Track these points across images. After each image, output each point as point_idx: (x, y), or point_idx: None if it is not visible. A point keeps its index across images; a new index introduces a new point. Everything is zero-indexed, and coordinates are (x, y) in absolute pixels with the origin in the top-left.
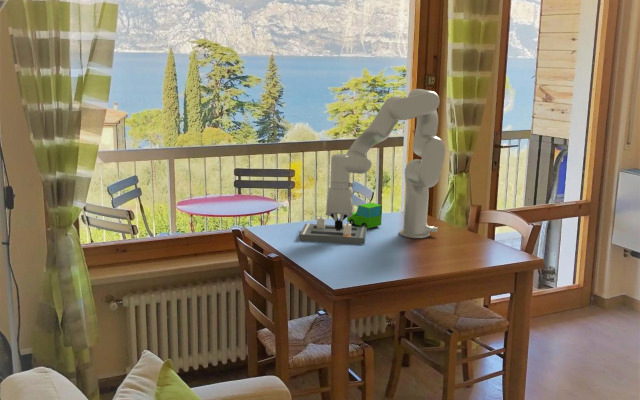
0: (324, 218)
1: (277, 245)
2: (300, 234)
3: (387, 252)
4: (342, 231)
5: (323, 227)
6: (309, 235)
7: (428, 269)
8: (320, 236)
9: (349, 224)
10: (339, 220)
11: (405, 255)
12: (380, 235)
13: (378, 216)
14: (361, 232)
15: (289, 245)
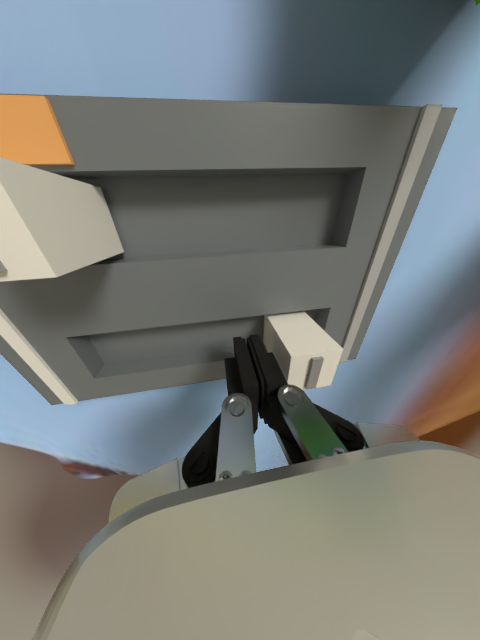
0: (36, 248)
1: (40, 440)
2: (57, 403)
3: (384, 382)
4: (260, 294)
5: (105, 257)
6: (108, 394)
7: (418, 426)
8: (164, 383)
9: (326, 364)
10: (268, 419)
11: (418, 385)
12: (462, 180)
13: None
14: (365, 291)
15: (81, 428)
